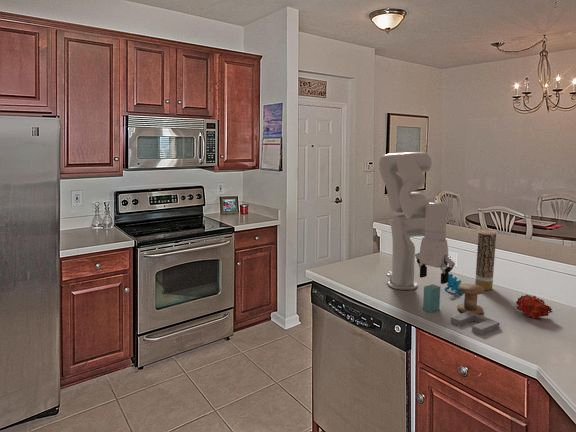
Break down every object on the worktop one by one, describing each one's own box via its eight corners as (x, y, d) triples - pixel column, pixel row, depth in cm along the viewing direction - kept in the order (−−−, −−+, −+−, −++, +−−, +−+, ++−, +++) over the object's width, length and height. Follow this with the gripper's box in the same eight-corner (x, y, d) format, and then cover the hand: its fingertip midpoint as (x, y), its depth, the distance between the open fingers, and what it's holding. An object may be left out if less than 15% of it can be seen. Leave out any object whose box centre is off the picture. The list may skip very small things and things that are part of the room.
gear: (456, 294, 178) (442, 273, 183) (446, 301, 181) (432, 280, 186) (469, 291, 185) (455, 271, 190) (459, 298, 189) (445, 278, 193)
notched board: (450, 322, 155) (451, 317, 155) (468, 316, 160) (468, 311, 160) (481, 335, 145) (481, 329, 145) (499, 327, 150) (499, 322, 150)
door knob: (452, 309, 167) (453, 286, 165) (467, 304, 171) (468, 282, 170) (473, 317, 159) (474, 293, 158) (488, 311, 164) (489, 288, 162)
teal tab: (423, 309, 167) (424, 286, 166) (431, 306, 170) (432, 284, 168) (430, 312, 164) (431, 289, 163) (439, 309, 167) (440, 286, 165)
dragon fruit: (512, 314, 165) (547, 328, 157) (509, 308, 159) (546, 322, 151) (521, 294, 166) (556, 307, 159) (518, 287, 160) (555, 300, 152)
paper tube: (493, 291, 185) (498, 233, 180) (476, 290, 186) (480, 233, 182) (490, 286, 192) (494, 230, 187) (473, 285, 193) (477, 229, 188)
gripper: (409, 232, 167) (408, 276, 170) (447, 240, 153) (446, 287, 155) (423, 230, 171) (422, 273, 174) (461, 237, 156) (459, 284, 159)
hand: (433, 280), depth 164 cm, fingers open, 9 cm apart
